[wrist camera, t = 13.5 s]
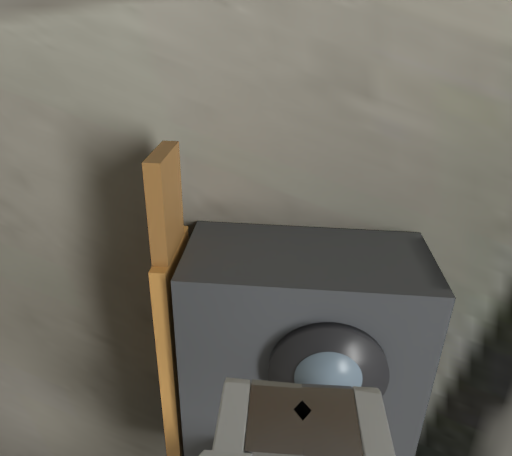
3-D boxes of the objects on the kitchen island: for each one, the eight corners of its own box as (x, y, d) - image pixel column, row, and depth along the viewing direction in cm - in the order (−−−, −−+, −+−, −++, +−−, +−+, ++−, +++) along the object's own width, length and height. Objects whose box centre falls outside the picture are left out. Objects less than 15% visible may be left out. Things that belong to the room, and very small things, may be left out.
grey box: (375, 453, 29) (393, 556, 24) (206, 439, 30) (186, 536, 25) (420, 232, 22) (460, 307, 17) (197, 221, 23) (166, 289, 17)
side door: (199, 404, 28) (181, 477, 24) (186, 403, 28) (166, 476, 24) (185, 134, 21) (156, 169, 16) (168, 134, 21) (134, 168, 16)
